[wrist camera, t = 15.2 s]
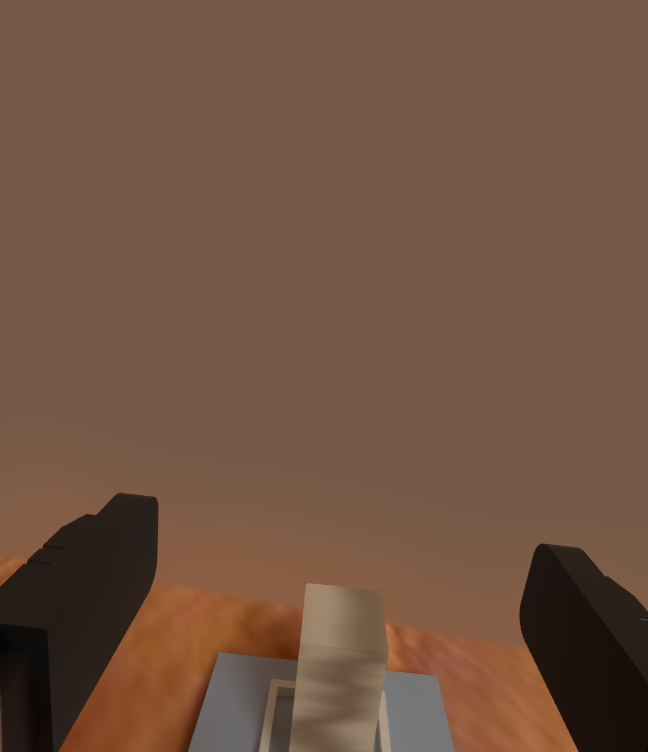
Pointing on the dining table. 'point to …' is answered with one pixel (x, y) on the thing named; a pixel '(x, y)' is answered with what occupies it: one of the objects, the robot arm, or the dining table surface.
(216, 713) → the board
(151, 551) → the robot arm
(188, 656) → the dining table surface
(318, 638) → the pillar
